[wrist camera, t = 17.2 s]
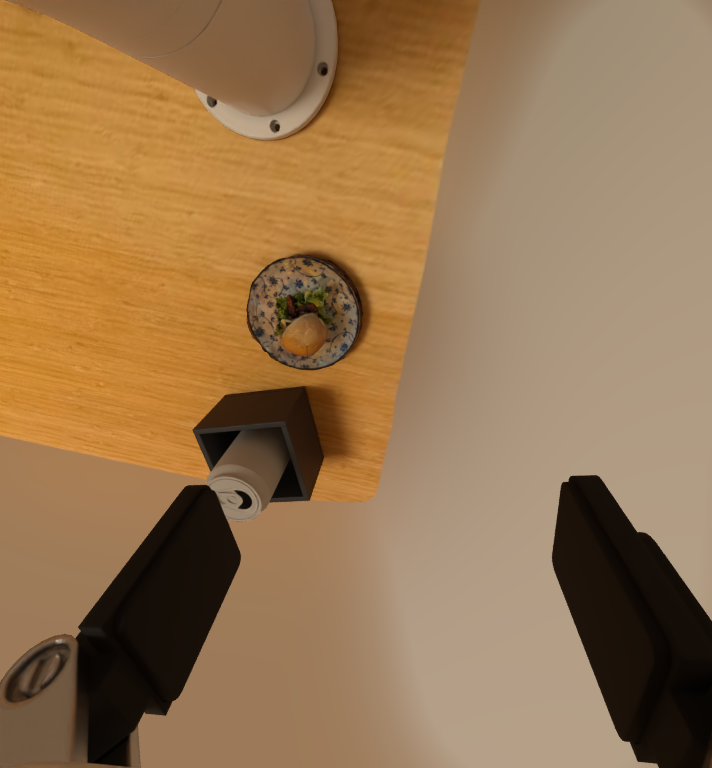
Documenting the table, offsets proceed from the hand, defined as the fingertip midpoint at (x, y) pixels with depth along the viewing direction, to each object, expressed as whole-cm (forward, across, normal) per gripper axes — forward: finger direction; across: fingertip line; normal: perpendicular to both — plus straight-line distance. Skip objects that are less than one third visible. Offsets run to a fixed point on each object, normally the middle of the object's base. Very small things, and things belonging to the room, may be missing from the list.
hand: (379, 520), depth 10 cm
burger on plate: (+30, +10, +2) cm, 31 cm away
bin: (+29, +17, +16) cm, 37 cm away
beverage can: (+29, +17, +16) cm, 37 cm away
